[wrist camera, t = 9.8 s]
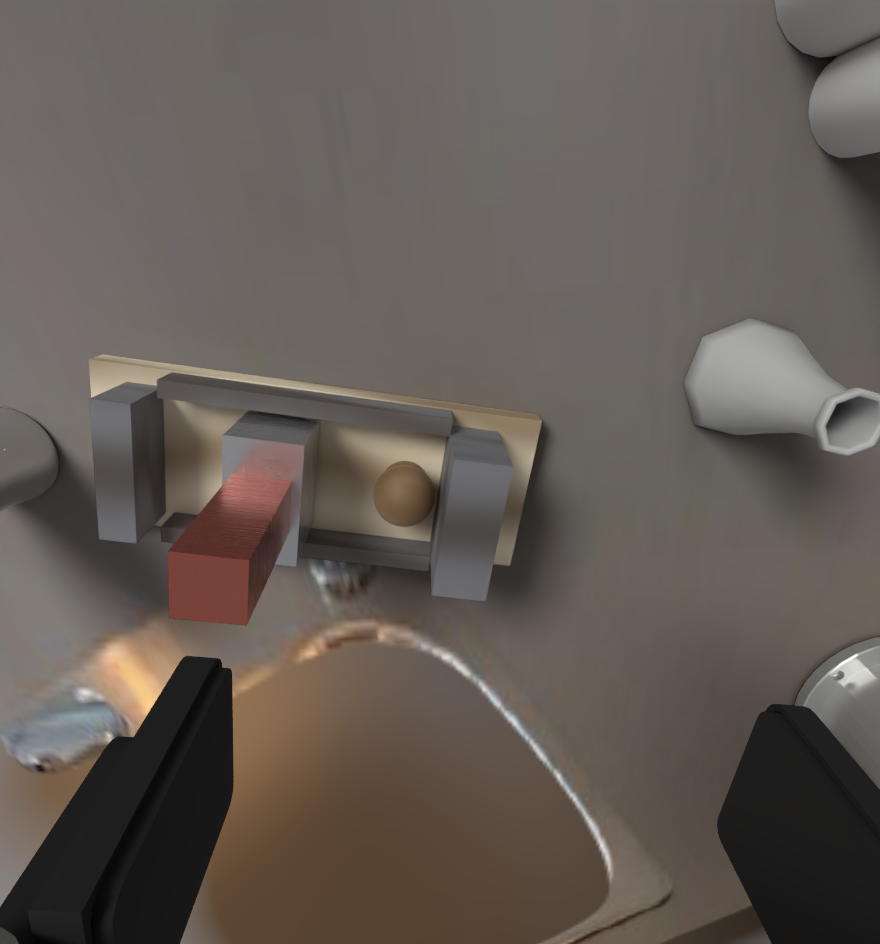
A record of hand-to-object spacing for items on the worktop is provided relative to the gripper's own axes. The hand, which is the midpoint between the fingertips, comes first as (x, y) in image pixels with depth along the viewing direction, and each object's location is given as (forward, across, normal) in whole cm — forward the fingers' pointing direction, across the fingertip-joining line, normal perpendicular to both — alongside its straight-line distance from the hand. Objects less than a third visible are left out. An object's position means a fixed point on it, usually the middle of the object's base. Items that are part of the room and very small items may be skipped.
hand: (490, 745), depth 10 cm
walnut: (+25, +2, +5) cm, 26 cm away
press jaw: (+25, +9, +5) cm, 27 cm away
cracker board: (+26, +7, +5) cm, 28 cm away
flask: (+27, -18, -3) cm, 33 cm away
